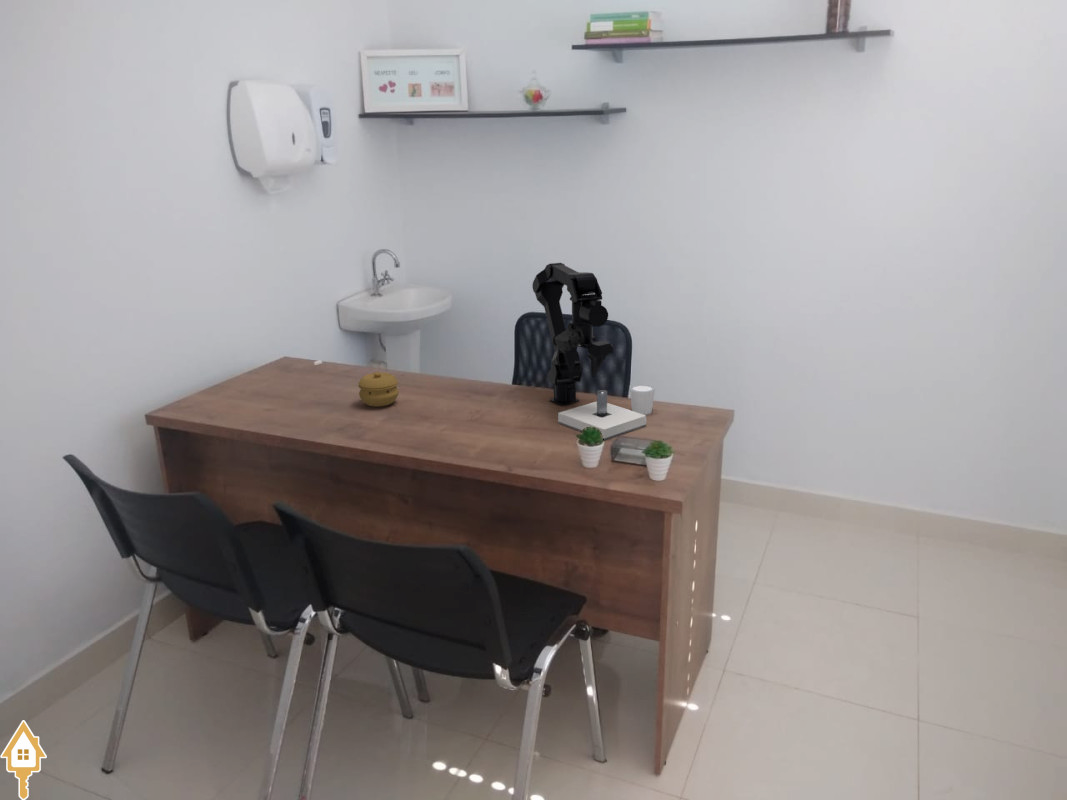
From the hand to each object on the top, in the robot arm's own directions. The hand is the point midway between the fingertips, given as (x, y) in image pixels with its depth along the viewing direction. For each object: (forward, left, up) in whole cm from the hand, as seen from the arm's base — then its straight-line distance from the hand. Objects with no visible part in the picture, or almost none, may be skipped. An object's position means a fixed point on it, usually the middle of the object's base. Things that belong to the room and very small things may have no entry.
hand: (582, 373), depth 231 cm
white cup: (+10, +14, -12) cm, 21 cm away
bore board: (+10, -2, -12) cm, 16 cm away
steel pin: (+10, -2, -12) cm, 15 cm away
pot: (-48, -38, -12) cm, 62 cm away
